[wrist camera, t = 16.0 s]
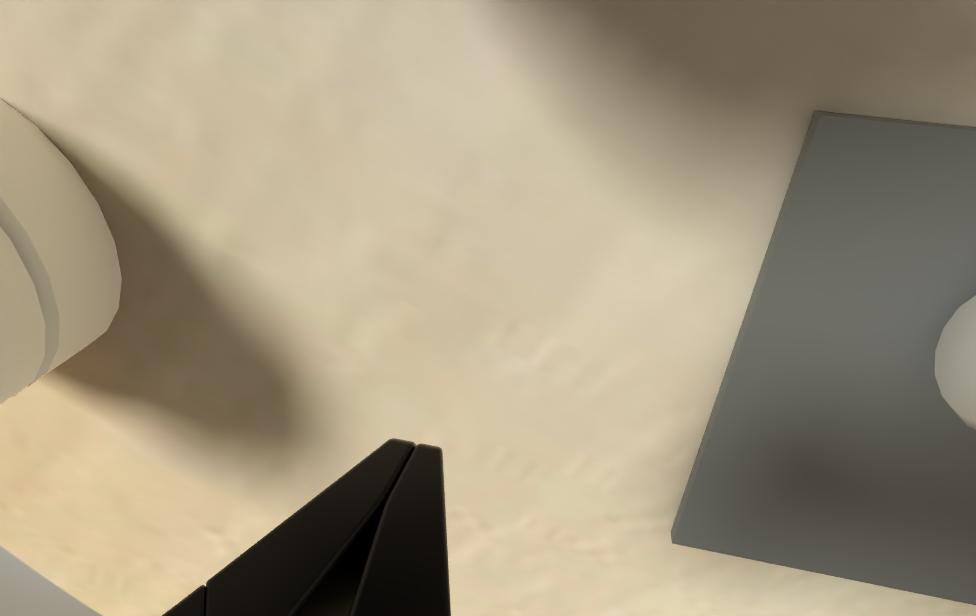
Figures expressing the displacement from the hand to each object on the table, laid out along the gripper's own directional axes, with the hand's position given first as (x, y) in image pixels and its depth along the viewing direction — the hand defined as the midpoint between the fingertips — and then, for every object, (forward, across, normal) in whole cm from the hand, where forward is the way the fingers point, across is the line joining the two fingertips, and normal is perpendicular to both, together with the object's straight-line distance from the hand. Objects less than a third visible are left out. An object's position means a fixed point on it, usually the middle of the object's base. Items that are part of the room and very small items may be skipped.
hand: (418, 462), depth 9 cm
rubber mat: (+12, -15, +5) cm, 20 cm away
